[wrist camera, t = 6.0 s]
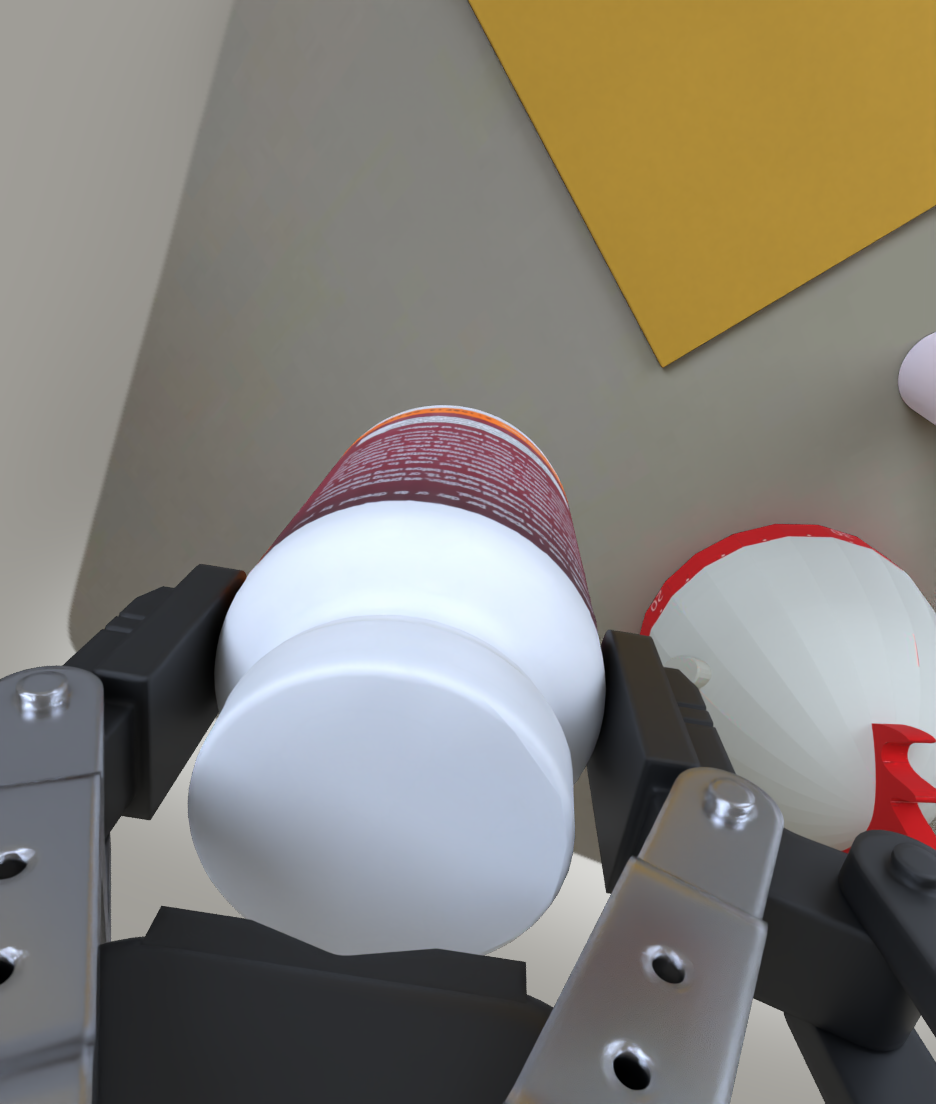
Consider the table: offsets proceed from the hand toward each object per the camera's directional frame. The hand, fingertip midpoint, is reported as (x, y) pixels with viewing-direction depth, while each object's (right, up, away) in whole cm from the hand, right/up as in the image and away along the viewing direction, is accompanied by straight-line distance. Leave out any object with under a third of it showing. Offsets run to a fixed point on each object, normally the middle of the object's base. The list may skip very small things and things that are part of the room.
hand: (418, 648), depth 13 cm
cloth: (+11, +22, +15) cm, 28 cm away
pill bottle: (0, +3, +6) cm, 7 cm away
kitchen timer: (+16, -3, +25) cm, 30 cm away
